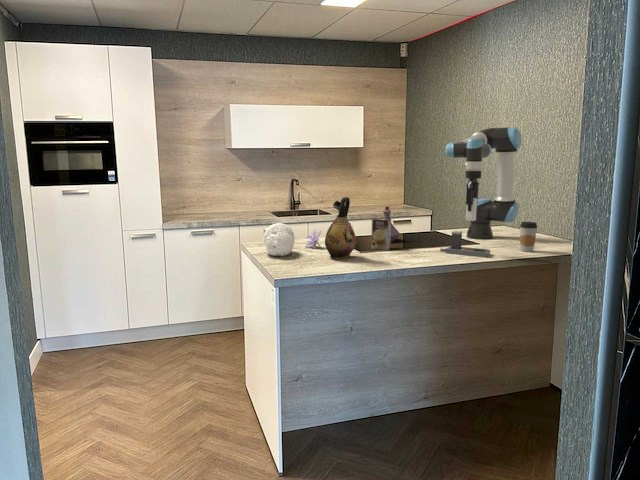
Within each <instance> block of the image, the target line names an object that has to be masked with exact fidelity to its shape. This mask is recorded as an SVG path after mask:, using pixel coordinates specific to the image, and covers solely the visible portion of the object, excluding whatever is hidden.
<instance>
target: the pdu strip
mask: <svg viewBox="0 0 640 480" xmlns="http://www.w3.org/2000/svg"><path fill="white" fill-rule="evenodd" d="M439 251H440V252H444V253H445V254H447V255H448V254H449V255H456V256H457V255H458V256H465V257H466V256H468V257H477V258H484V259H485V258H487V257H489V256H490V255H491V249H489V248H488V249H486V248H478V247H468V246H461V249H451V245H450V246H448V247H447V248H443V247H442V248H440V250H439Z"/></svg>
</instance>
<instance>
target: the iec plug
mask: <svg viewBox="0 0 640 480" xmlns="http://www.w3.org/2000/svg"><path fill="white" fill-rule="evenodd" d="M465 206H466V207H465V209H466V210H465V221H468V222H470V221H475V220H476V209H477V198H473V218H467V205H466V204H465Z"/></svg>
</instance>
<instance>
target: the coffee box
mask: <svg viewBox="0 0 640 480" xmlns="http://www.w3.org/2000/svg"><path fill="white" fill-rule="evenodd" d="M371 220H372V223H371V249H374V250H381V251H382V250H383V251H388V250H390V249H391V242H390V240H391V223H392V219H391V218H390V219H383V217H382V218H381V217H375V218H373V219H371Z"/></svg>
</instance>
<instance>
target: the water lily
mask: <svg viewBox="0 0 640 480" xmlns="http://www.w3.org/2000/svg"><path fill="white" fill-rule="evenodd" d="M321 233H322V230H319V232H317V230H316V228H314V229H313V233H310V234H309V235H307V236H306V237H305V239H306V240H307V241H305V243H306V244H304V246H307V247H311V248H312V249H313V248H314V249H313V250H315V249H316V248H317V245H318V246H320V247H321V245H320V243H319V241H320V238H319V237H321Z"/></svg>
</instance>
